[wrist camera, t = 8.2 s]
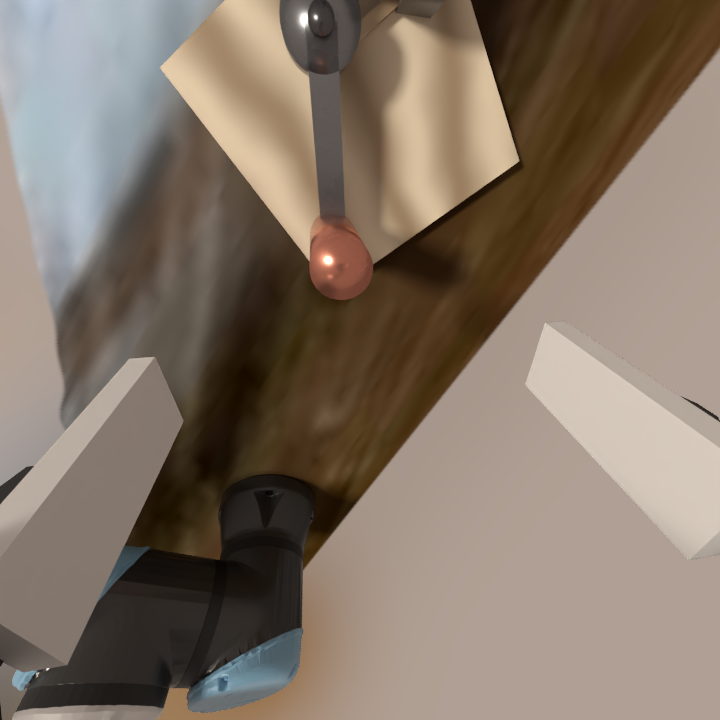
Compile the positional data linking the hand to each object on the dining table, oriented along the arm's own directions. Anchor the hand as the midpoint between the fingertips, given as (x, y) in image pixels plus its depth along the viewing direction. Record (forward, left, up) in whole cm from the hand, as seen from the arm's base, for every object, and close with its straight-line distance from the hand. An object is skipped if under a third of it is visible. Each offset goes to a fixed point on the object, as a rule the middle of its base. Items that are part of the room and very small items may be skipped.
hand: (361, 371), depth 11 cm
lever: (+5, +8, -22) cm, 24 cm away
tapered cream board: (+7, +6, -25) cm, 26 cm away
